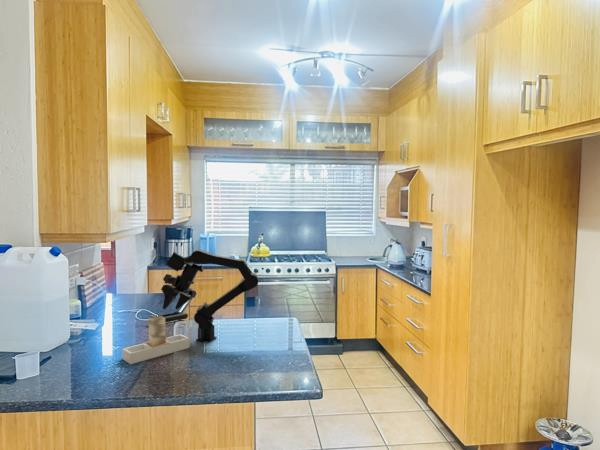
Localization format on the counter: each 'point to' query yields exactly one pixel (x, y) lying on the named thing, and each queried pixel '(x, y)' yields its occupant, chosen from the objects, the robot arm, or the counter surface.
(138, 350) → the rack
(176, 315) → the door handle
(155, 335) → the tan carved block
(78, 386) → the counter surface
